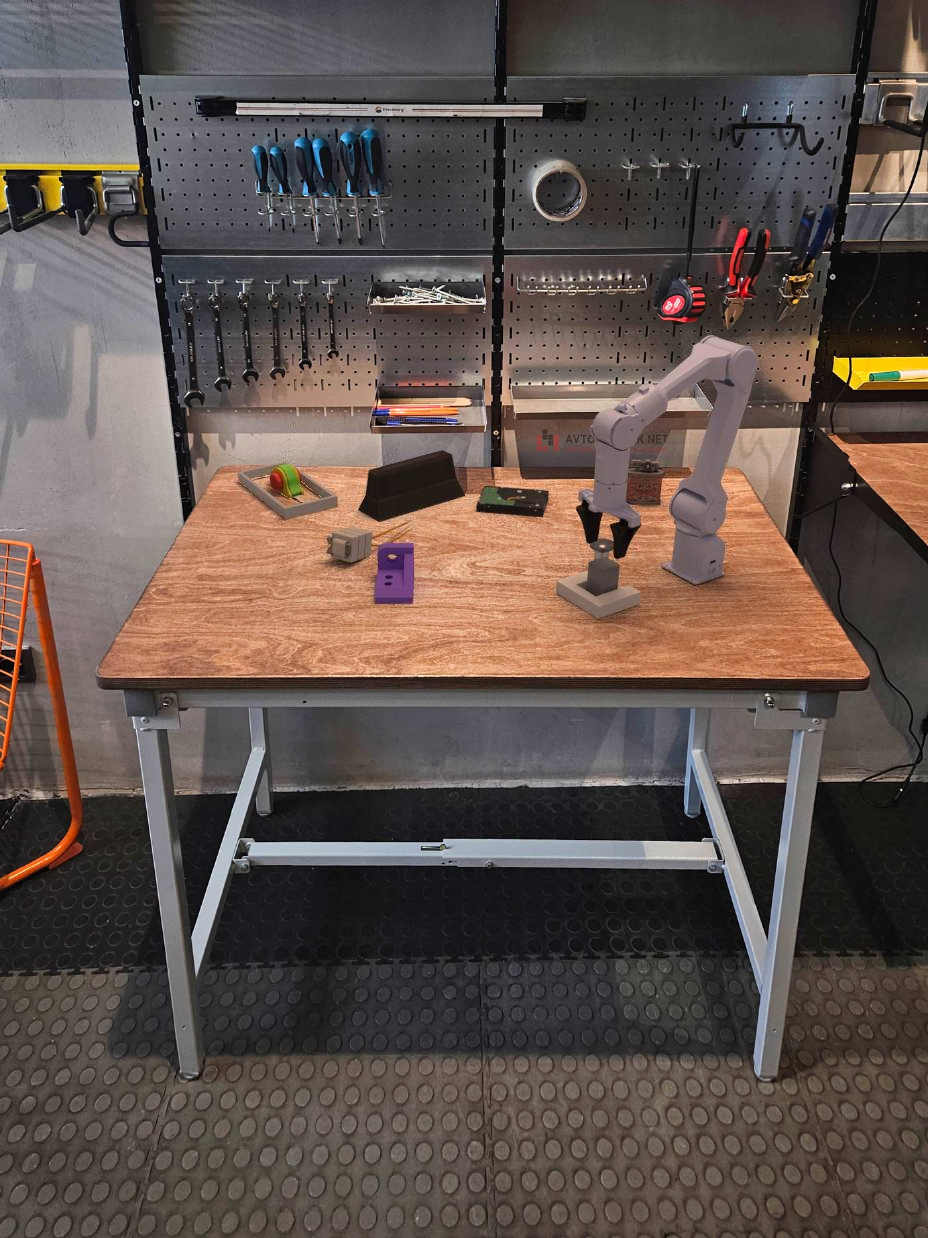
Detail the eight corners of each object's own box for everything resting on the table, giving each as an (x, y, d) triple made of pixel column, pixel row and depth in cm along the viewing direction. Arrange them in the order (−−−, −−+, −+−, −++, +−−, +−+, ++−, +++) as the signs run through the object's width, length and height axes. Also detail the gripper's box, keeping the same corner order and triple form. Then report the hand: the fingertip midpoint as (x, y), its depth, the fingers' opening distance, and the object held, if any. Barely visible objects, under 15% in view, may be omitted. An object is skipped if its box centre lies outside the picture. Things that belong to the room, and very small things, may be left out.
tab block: (616, 598, 187) (619, 564, 184) (600, 604, 185) (603, 570, 182) (602, 590, 190) (605, 556, 187) (586, 595, 188) (588, 561, 185)
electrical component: (393, 535, 219) (394, 513, 217) (416, 541, 216) (418, 518, 215) (325, 557, 199) (326, 532, 197) (350, 564, 196) (351, 539, 195)
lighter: (660, 500, 228) (664, 457, 223) (661, 506, 225) (665, 463, 220) (623, 498, 228) (627, 456, 223) (624, 504, 225) (628, 462, 220)
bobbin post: (618, 573, 196) (620, 545, 193) (598, 579, 194) (601, 551, 191) (601, 563, 200) (604, 536, 197) (582, 570, 197) (584, 542, 194)
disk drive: (548, 501, 228) (483, 495, 231) (549, 489, 227) (483, 484, 229) (543, 519, 220) (475, 513, 222) (544, 507, 218) (476, 502, 220)
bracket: (378, 575, 196) (377, 542, 193) (414, 574, 196) (413, 542, 193) (375, 605, 186) (373, 571, 182) (413, 604, 186) (412, 571, 182)
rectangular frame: (338, 506, 224) (337, 496, 223) (285, 519, 218) (284, 508, 217) (288, 471, 242) (287, 461, 241) (238, 481, 236) (237, 471, 235)
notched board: (639, 604, 185) (641, 591, 184) (597, 618, 181) (598, 606, 179) (597, 578, 194) (598, 567, 193) (556, 592, 189) (556, 580, 188)
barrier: (442, 485, 235) (442, 444, 231) (466, 497, 230) (466, 455, 225) (357, 510, 223) (354, 467, 218) (379, 523, 217) (377, 479, 212)
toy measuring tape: (285, 481, 237) (282, 454, 234) (331, 506, 224) (329, 478, 221) (261, 487, 234) (258, 460, 231) (306, 514, 221) (304, 485, 218)
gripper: (566, 470, 180) (562, 540, 186) (621, 497, 169) (615, 570, 176) (597, 462, 183) (592, 531, 190) (652, 488, 173) (645, 560, 179)
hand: (605, 549), depth 183 cm, fingers open, 7 cm apart
